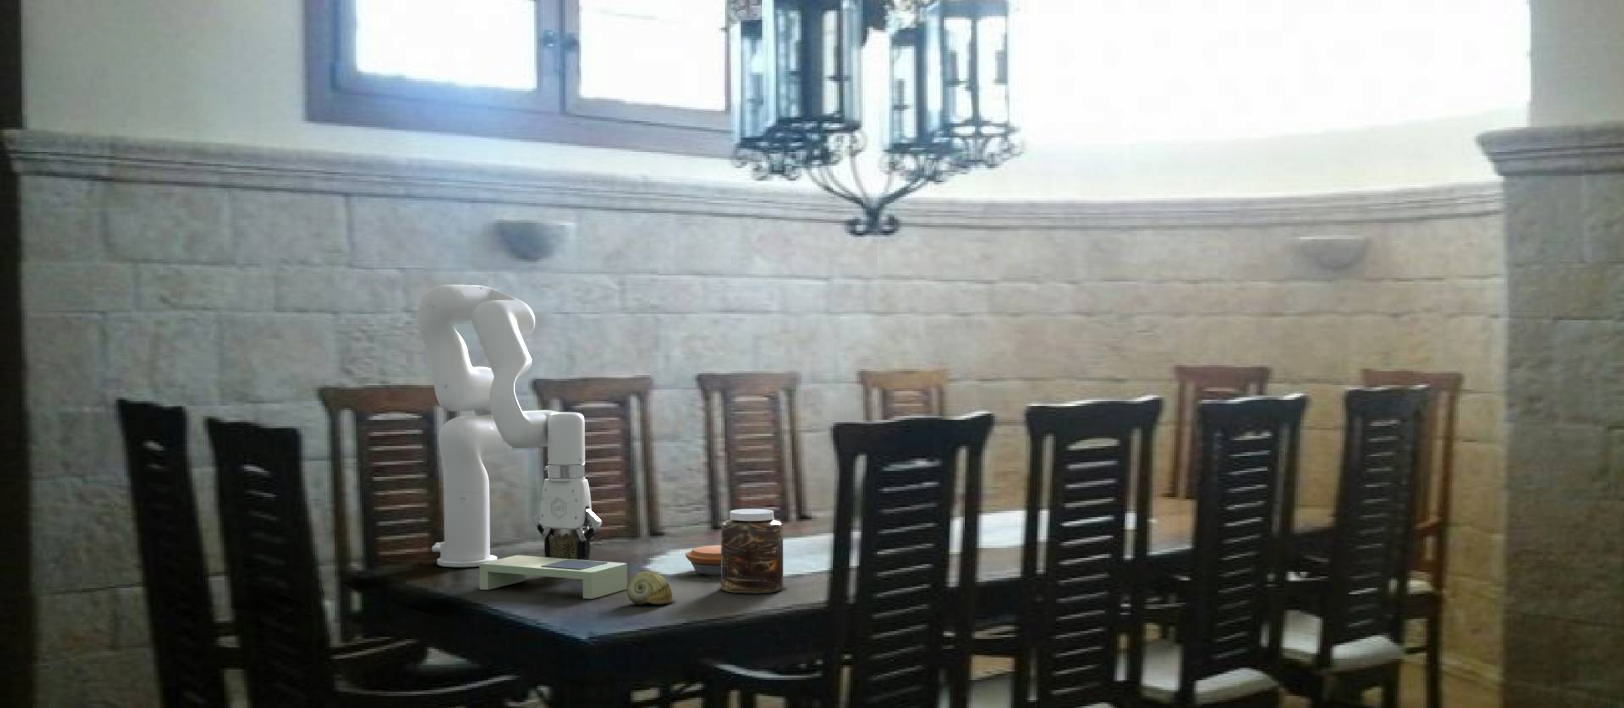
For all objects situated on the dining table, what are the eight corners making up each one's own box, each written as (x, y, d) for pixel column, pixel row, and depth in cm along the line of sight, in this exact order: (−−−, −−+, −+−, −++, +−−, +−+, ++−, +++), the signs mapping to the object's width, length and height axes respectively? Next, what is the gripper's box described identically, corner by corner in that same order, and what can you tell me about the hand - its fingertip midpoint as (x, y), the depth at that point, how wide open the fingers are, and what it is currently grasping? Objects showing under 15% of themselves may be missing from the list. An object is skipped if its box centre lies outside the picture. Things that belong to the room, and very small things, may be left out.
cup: (592, 573, 313) (592, 534, 313) (572, 578, 306) (572, 538, 306) (562, 570, 316) (562, 532, 316) (541, 575, 309) (541, 536, 309)
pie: (774, 572, 312) (774, 548, 312) (707, 579, 304) (707, 554, 304) (737, 563, 325) (737, 539, 325) (672, 569, 317) (672, 545, 317)
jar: (771, 582, 300) (771, 506, 300) (791, 591, 289) (790, 513, 289) (714, 586, 296) (713, 509, 295) (731, 595, 285) (731, 516, 284)
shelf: (479, 589, 293) (479, 562, 293) (517, 580, 304) (517, 554, 304) (591, 599, 282) (591, 571, 282) (627, 589, 293) (626, 562, 293)
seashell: (652, 621, 281) (626, 587, 283) (682, 597, 282) (656, 563, 283) (643, 621, 272) (616, 586, 273) (674, 596, 272) (647, 561, 274)
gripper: (520, 472, 311) (521, 558, 311) (591, 475, 304) (592, 564, 304) (542, 469, 318) (543, 553, 318) (612, 472, 310) (613, 559, 311)
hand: (567, 558), depth 311 cm, fingers closed on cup, 7 cm apart
